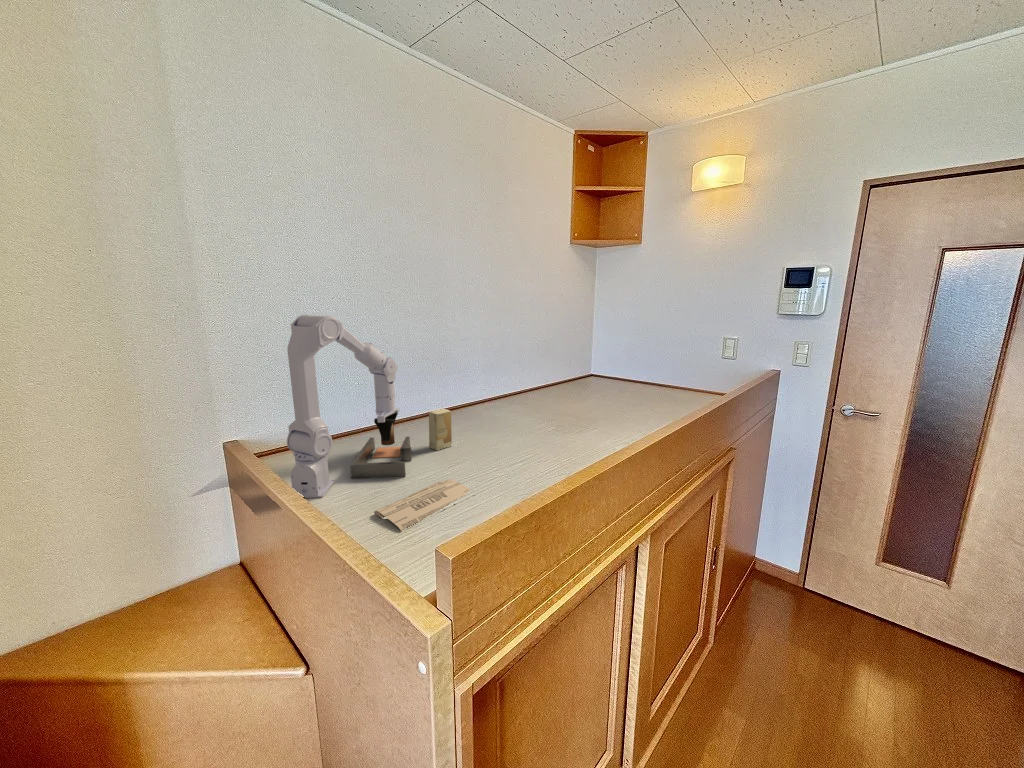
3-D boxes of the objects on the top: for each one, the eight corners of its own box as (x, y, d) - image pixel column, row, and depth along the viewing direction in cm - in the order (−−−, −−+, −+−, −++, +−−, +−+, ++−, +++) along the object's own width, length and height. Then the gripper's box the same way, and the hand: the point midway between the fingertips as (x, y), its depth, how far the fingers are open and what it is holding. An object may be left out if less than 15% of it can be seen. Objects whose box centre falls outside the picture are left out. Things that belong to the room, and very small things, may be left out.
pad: (399, 457, 124) (399, 456, 124) (372, 458, 123) (372, 456, 123) (403, 447, 132) (403, 446, 132) (378, 448, 131) (378, 447, 131)
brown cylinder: (393, 445, 125) (392, 426, 124) (380, 445, 125) (378, 426, 124) (395, 440, 129) (394, 422, 128) (382, 441, 129) (381, 422, 127)
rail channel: (405, 477, 111) (404, 463, 110) (351, 478, 109) (350, 465, 108) (415, 448, 132) (415, 436, 131) (371, 449, 130) (370, 437, 130)
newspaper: (444, 482, 109) (444, 474, 108) (475, 501, 101) (476, 492, 101) (366, 515, 92) (366, 505, 92) (397, 541, 85) (397, 530, 84)
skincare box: (437, 451, 129) (435, 414, 127) (428, 447, 132) (427, 411, 130) (452, 446, 134) (451, 410, 131) (444, 442, 137) (443, 407, 134)
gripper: (393, 401, 117) (396, 445, 120) (402, 390, 131) (404, 430, 134) (368, 401, 116) (371, 446, 119) (380, 390, 130) (382, 430, 133)
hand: (387, 437), depth 127 cm, fingers closed on brown cylinder, 4 cm apart
